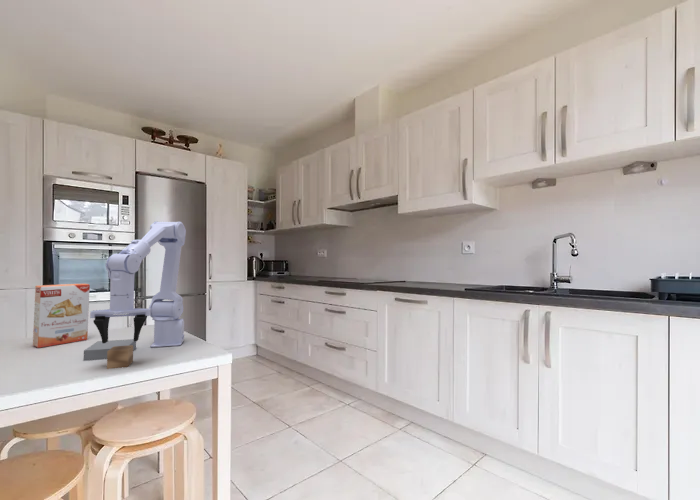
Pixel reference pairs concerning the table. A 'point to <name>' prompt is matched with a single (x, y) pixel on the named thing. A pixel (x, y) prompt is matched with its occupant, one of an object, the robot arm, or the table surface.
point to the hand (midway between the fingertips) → (120, 341)
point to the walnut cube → (119, 356)
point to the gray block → (105, 348)
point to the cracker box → (60, 314)
